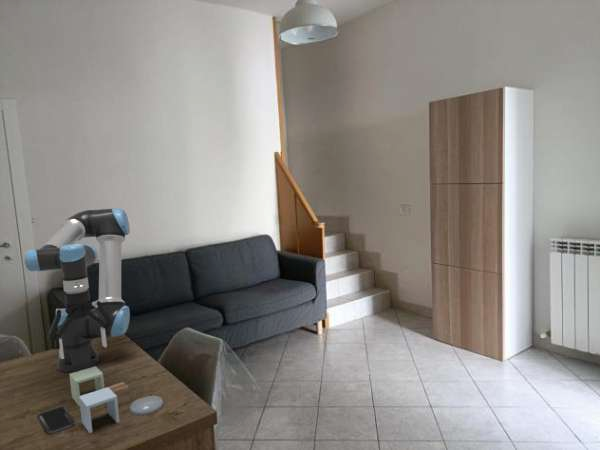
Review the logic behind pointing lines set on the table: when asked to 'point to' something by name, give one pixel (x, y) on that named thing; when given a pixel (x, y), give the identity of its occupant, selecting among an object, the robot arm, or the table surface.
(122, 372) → the table surface
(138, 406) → the dish
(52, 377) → the table surface
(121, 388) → the walnut block
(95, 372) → the sage cover
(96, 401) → the blue cover
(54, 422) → the phone
